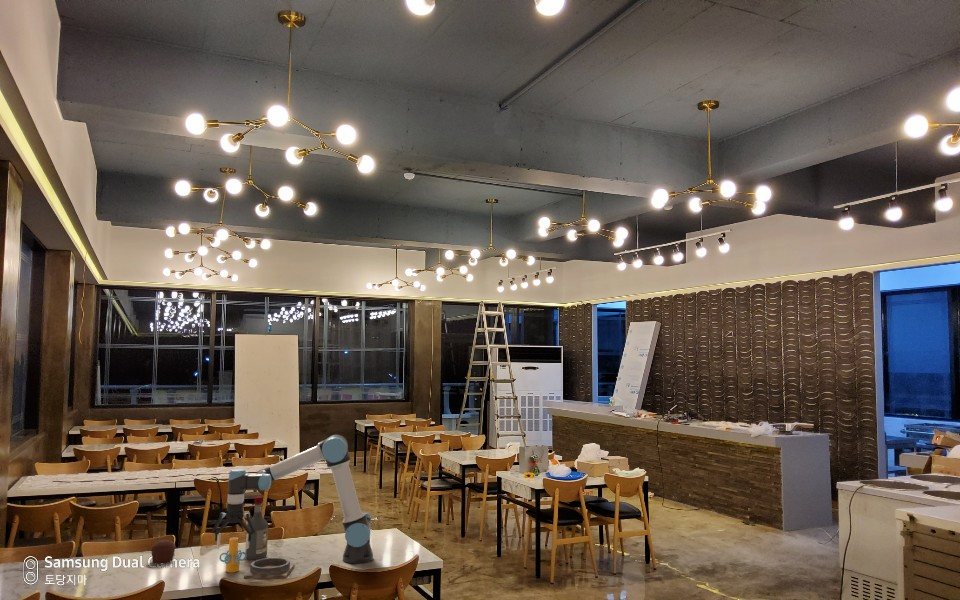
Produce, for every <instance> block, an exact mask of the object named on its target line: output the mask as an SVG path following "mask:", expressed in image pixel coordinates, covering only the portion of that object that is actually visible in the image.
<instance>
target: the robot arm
mask: <svg viewBox="0 0 960 600" xmlns="http://www.w3.org/2000/svg"><path fill="white" fill-rule="evenodd" d="M348 447H349V444H348V440H347V439H346V438H345V437H344V436H343V435H341V434H332V435H330V436H329V437H327V438H326V439H324V440H321V441H320V442H318V443H317V445H316V446H314V447H311V448H308V449H307V450H304V451H301V452H300V453H297V454H295V455H293V456H290V457H289V458H286V459H283V460H281V461H279V462H277V463H275V464H272V465H270V466H267V467H265V468H262V469H260V470H258V471H257V472H256V473H247V472H246V470H245V469H243V468H242V469H241V468H238V469H237V468H236V469H231V470H230V471H229V474H228V481H227V482H228V483H227V484H228V485H227V486H228V487H227V488H228V489H227V501H226V502H227V504H226V513H225V512H223V511H222V512H220V513H219V515H218V519H217V521H216V522H215V524H214V526H213V528H212V530H211V531H210V532H211V534H214V535H215V537H214V541H215V542H216V550H219V549H220V548H221V540H222V539H221V537H222V533H220V532H221V531H223V529H224V528H225V527H226V526H227V525H228V524H229V523H230V524H232V523H233V524H234V523H235V524H237V523H238V524H240V525H241V526H242V528H243V529H244V531H246V532H247V533H248V534H247V538H246V537H245V550H246V549H248V548H249V541H251V540H252V534H253V533H255V532H256V529H255V527H254V525H253V522H252V520H251V519H252V518H251V512H247V513H245V512H244V507H245V505H244V504H245V503H244V502H245V491H268V490H270V489H271V486H272V483H273V482H274V481H276V480H279V479H281V478H282V479H283V478H284V477H286V476H288V475H291V474H293V473H295V472H298V471H300V470H303V469H305V468H306V467H308V466H312V465H313V464H315V463H316V464H317V463H318V462H320V461H325V463H326V467H327V469H330V470H331V473H332V476H333V480H334V481H333V482H334V484H335V487H336V488H335V489H336V492H337V495H338V500H339V502H340V506H341V510H342V514H343V519H342V525H343V530H344V537H345V540H346V545H345V548H344V551H343V553H342V561H343V562H344V563H348V564H365V563H370V562H372V561H373V560H374V552H373V550H372V545H371V520H372V517H371V513H370V512H363V510H362V509H361V505H360V502H359V498H358V494H357V491H356V486H355V483H354V479H353V476H352V472H351V469H350V468H351V467H350V466H349V464H350V462H351V457H350V453H349V449H348ZM225 517H226V520H225V521H224V522H223V524H222V525H221V526H220V524H221V522H222V520H223V518H225ZM243 518H245V519H246V522H247V523H246V522H245V520H244V519H243ZM247 524H249V526H250V528H251V529H250V528H249V527H248V526H247ZM219 526H220V527H219ZM218 527H219V528H218ZM246 532H245V533H246Z"/></svg>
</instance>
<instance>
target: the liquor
mask: <svg viewBox="0 0 960 600" xmlns="http://www.w3.org/2000/svg"><path fill="white" fill-rule="evenodd" d="M262 504H263V496H262V495H261V496H259V495H257V496H255V497H254V513H253V516H252V518H251V520H252V522H253V525H254V527H255V529H256V532H255V533H253V534H252V540H251V541H249V548H248V549H246V548H245V551H244V552H245V553H246V554H247V557H246V560H250V561H251V560H252V561H256V560H259V559H264V558H267V555H268V542H269V541H268V540H269V539H268V536H269V523H268V521H267V520H266V518H264V516H263V514H262V513H263V512H262V509H263V507H262V506H263V505H262ZM246 524H247V526H248V527H249V528H250V526H249V524H248V523H246ZM250 529H251V528H250ZM245 533H246V535H245V539H246V538H247V534H248V533H247V532H245Z"/></svg>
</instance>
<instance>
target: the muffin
mask: <svg viewBox="0 0 960 600" xmlns="http://www.w3.org/2000/svg"><path fill="white" fill-rule="evenodd" d="M176 547H177V546H176V544H175V542H174V541H172V540H169V539H161V540H160V539H159V540H158V541H156V542H155V543H153V544H152V546H151V547H150V551H151V558H152V559H151V560H152V561H151V562H152V563H153V564H155V563H156V564H157V565H161V564H160V563H165V564H168V563H167V562H169V563H171V562H172V561H173V558H174V554H175V549H176ZM170 561H171V562H170Z"/></svg>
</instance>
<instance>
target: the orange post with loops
mask: <svg viewBox="0 0 960 600" xmlns="http://www.w3.org/2000/svg"><path fill="white" fill-rule="evenodd" d="M243 554H244V558H242V555H243ZM223 555H225V556H224V559H222V557H223ZM246 557H247V554H246V553H245V551H242V550H241V549H239V537H234V536H233V537H230V538H229V543H228V550H227V551H226V552H221V554H220V555H219V561H220V562H223V563H225V572H227V573H237V572H239V571H240V563H241V562H243V561H245V560H247V558H246Z"/></svg>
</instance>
